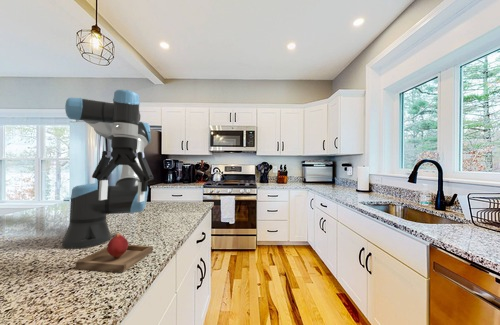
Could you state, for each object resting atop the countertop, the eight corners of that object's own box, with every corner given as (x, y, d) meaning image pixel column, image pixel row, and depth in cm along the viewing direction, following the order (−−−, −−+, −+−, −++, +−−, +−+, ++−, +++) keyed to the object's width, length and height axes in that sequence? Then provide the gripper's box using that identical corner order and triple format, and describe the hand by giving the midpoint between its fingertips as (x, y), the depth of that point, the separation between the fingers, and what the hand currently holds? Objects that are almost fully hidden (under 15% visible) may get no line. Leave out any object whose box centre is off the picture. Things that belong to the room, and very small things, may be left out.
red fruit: (113, 254, 70) (114, 230, 71) (130, 254, 71) (131, 230, 71) (102, 261, 65) (103, 235, 65) (121, 261, 65) (123, 235, 65)
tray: (75, 268, 61) (76, 261, 61) (113, 249, 76) (113, 243, 76) (123, 272, 60) (123, 265, 60) (152, 251, 75) (152, 246, 75)
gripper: (80, 134, 67) (77, 200, 67) (153, 136, 65) (150, 204, 64) (99, 138, 75) (96, 197, 74) (165, 139, 72) (163, 200, 72)
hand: (121, 200), depth 69 cm, fingers open, 13 cm apart
